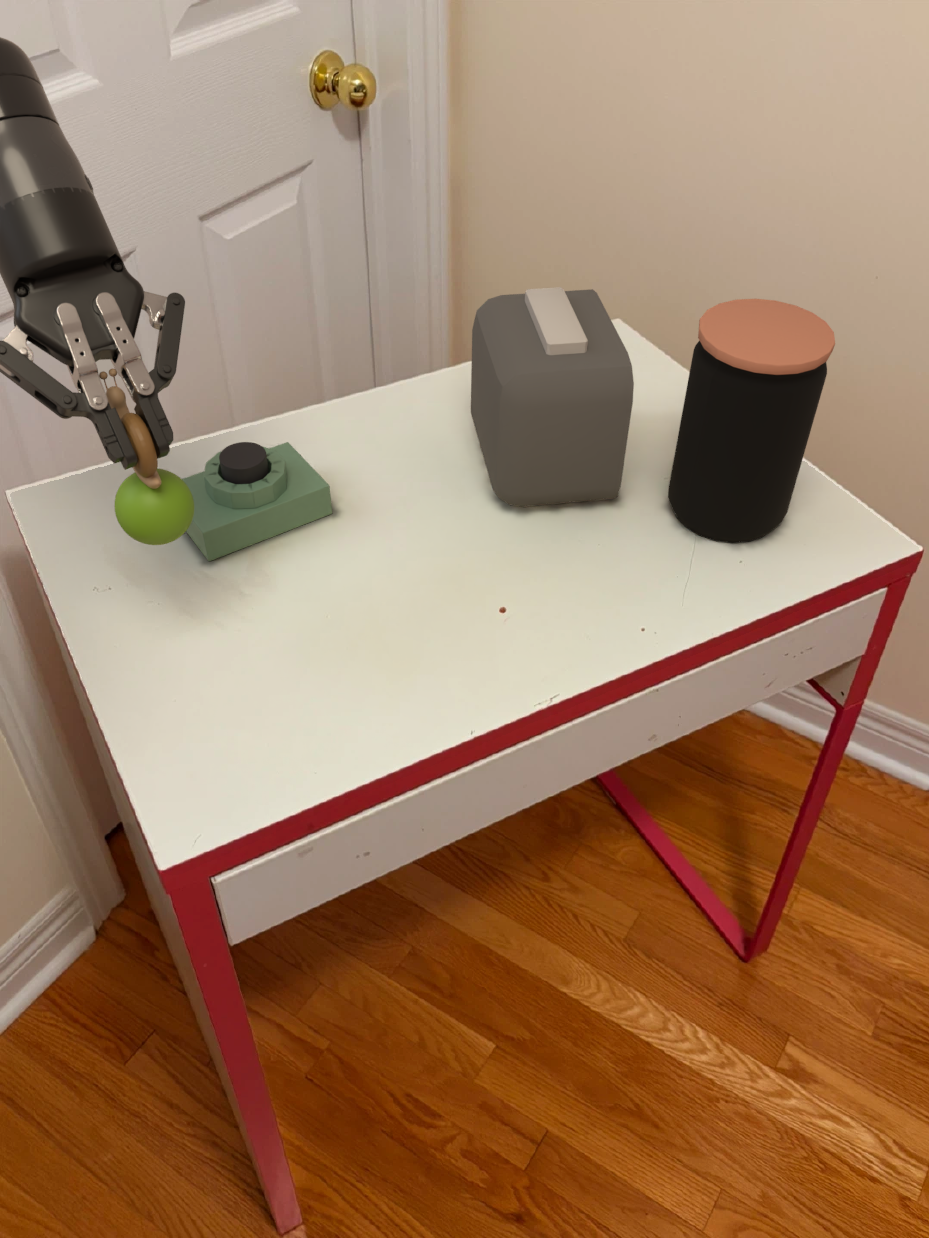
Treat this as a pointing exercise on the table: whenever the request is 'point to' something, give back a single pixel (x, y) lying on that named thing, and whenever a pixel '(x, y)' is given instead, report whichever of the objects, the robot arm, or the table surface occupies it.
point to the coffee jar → (747, 417)
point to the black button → (243, 463)
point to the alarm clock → (550, 396)
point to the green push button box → (255, 503)
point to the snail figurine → (148, 484)
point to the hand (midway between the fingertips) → (146, 459)
